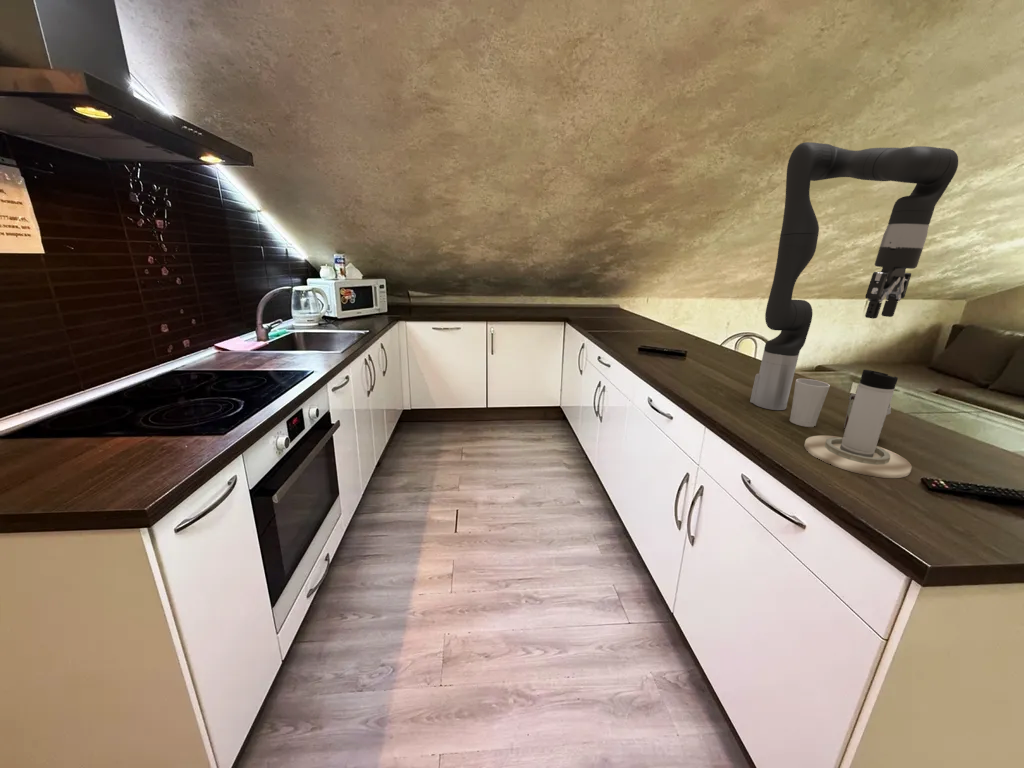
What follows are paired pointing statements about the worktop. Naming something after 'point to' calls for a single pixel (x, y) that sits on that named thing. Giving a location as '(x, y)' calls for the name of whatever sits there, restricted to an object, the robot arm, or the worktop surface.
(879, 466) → the round plate
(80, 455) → the worktop surface
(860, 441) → the travel mug
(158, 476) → the worktop surface
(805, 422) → the cup
